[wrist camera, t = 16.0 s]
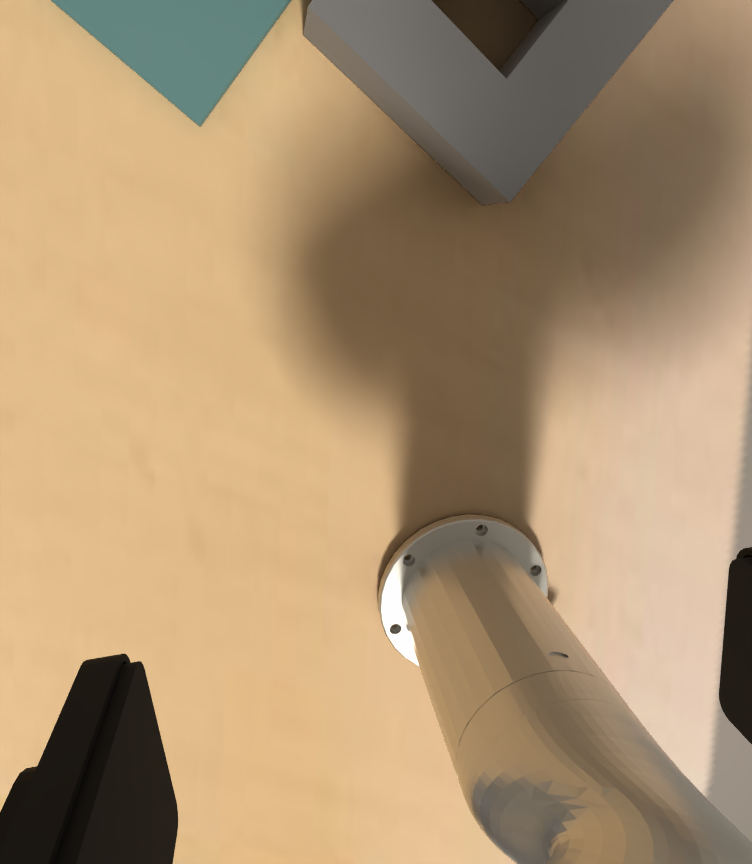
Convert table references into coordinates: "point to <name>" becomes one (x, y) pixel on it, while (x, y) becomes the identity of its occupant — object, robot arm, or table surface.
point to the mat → (180, 42)
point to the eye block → (481, 78)
